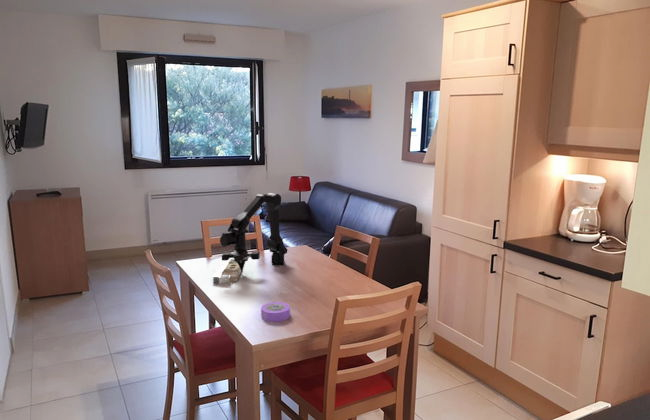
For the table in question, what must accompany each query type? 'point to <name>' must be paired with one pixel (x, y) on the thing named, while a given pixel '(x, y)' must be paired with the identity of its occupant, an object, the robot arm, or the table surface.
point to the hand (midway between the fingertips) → (242, 272)
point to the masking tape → (275, 311)
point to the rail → (218, 276)
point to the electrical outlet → (232, 271)
